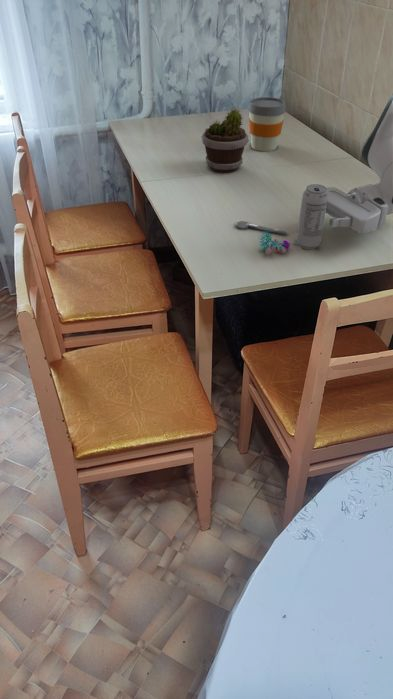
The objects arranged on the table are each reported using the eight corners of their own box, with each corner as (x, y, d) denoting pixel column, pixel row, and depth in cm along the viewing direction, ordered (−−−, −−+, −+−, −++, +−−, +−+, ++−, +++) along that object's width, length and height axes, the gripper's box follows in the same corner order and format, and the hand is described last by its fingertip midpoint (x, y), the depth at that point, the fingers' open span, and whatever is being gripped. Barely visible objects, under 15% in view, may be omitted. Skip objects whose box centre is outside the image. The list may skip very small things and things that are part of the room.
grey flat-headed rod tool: (287, 231, 144) (288, 228, 143) (284, 237, 141) (284, 234, 141) (239, 222, 148) (239, 218, 147) (234, 227, 145) (234, 224, 145)
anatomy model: (294, 244, 129) (290, 227, 134) (260, 244, 129) (258, 228, 134) (291, 261, 133) (288, 244, 138) (259, 261, 133) (256, 245, 138)
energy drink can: (317, 239, 141) (327, 183, 131) (321, 250, 136) (331, 193, 127) (294, 238, 141) (302, 182, 131) (297, 250, 136) (305, 193, 127)
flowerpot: (191, 166, 179) (191, 102, 166) (225, 155, 187) (228, 93, 174) (221, 179, 170) (224, 113, 158) (255, 167, 178) (260, 103, 165)
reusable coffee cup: (264, 155, 187) (267, 109, 177) (239, 145, 194) (241, 101, 185) (288, 147, 193) (293, 102, 183) (263, 138, 200) (267, 94, 191)
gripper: (337, 178, 145) (295, 187, 140) (392, 207, 131) (348, 220, 126) (333, 200, 149) (292, 210, 144) (386, 231, 135) (343, 244, 130)
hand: (319, 215), depth 135 cm, fingers open, 8 cm apart
